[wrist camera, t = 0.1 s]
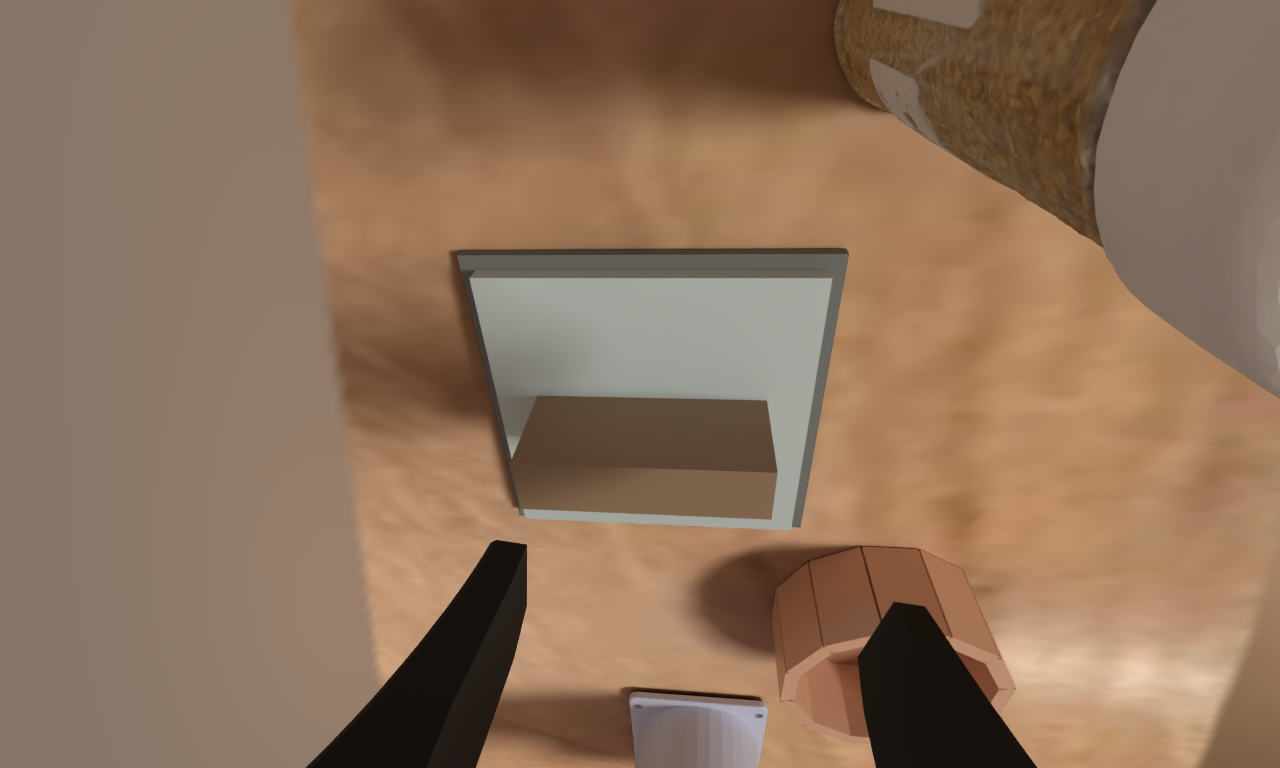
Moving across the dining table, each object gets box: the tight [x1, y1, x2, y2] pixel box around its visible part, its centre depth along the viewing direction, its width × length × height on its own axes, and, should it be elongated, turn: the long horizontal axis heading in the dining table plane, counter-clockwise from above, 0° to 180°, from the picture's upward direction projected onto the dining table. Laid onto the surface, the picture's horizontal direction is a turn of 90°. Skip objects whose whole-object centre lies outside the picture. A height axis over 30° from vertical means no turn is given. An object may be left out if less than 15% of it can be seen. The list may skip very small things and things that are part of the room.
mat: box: [457, 249, 849, 527], centre depth 21 cm, size 12×12×1 cm
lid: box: [469, 270, 833, 530], centre depth 19 cm, size 11×11×4 cm
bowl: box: [771, 546, 1016, 744], centre depth 25 cm, size 9×9×4 cm
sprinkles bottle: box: [834, 0, 1280, 398], centre depth 8 cm, size 5×5×14 cm
